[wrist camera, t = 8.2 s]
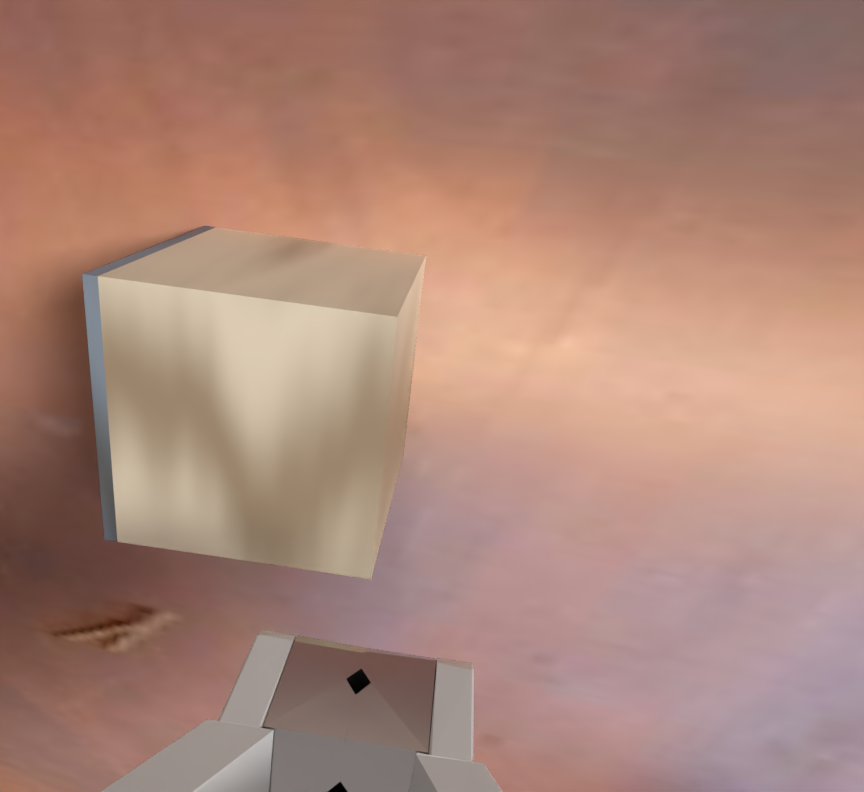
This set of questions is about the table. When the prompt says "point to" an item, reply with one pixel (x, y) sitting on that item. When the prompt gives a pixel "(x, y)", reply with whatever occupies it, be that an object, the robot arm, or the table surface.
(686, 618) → the table surface
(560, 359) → the table surface
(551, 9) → the table surface
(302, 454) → the maple cube
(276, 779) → the robot arm
